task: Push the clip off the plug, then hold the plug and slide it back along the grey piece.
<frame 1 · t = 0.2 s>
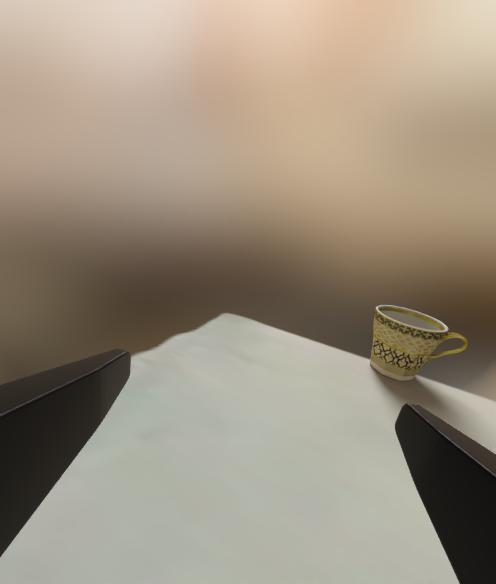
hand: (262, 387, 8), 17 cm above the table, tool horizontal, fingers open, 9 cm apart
ceramic cup: (399, 373, 41), on the table
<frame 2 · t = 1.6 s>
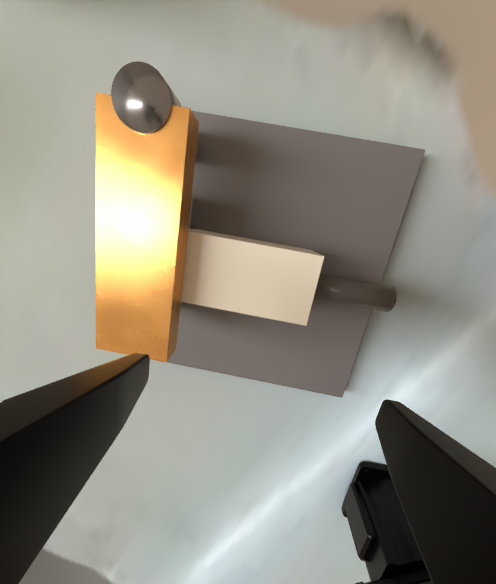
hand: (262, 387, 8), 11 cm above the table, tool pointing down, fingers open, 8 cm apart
clip: (143, 232, 12), point 6 cm above the table, hinge at 0.0°
grey piece: (266, 268, 18), on the table
plug: (285, 279, 15), point 3 cm above the table, slide at 0.0 cm
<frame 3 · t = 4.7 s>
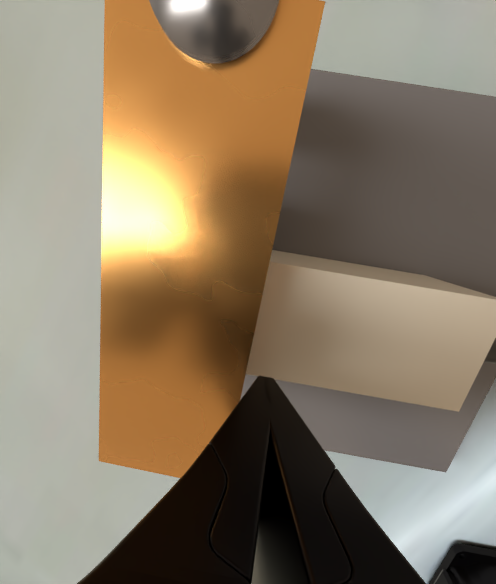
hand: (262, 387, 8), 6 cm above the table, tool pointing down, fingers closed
clip: (190, 268, 6), point 6 cm above the table, hinge at 1.6°, touching gripper
grey piece: (345, 299, 12), on the table
plug: (402, 327, 10), point 3 cm above the table, slide at 0.0 cm
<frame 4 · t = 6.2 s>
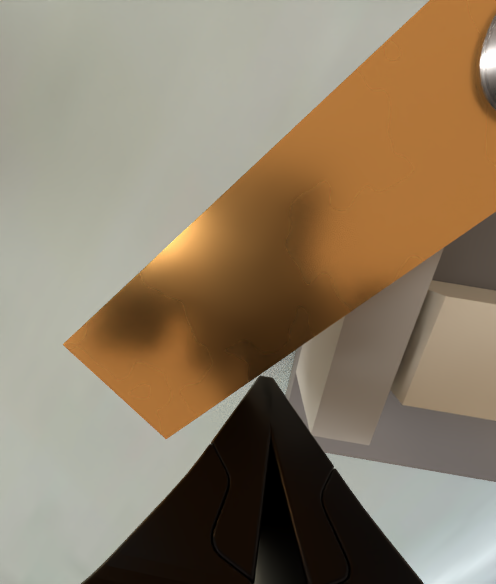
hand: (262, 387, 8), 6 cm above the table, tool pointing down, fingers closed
clip: (301, 241, 6), point 6 cm above the table, hinge at 41.1°, touching gripper
grey piece: (458, 321, 13), on the table
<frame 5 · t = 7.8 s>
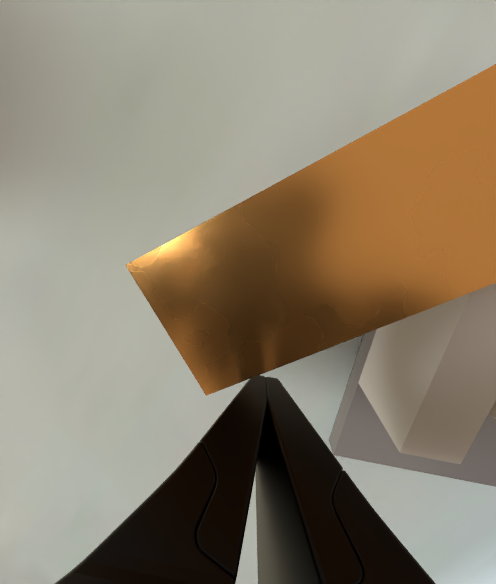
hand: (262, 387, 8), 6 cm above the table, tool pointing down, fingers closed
clip: (415, 214, 6), point 6 cm above the table, hinge at 54.0°, touching gripper
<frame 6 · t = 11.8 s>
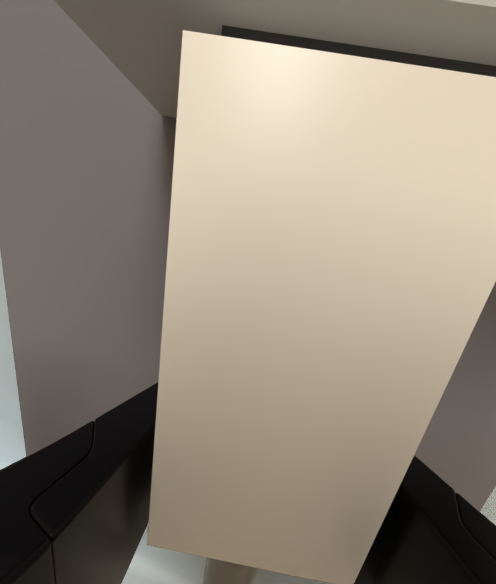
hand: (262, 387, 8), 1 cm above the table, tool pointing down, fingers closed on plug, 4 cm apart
grey piece: (270, 328, 9), on the table
plug: (263, 421, 6), point 3 cm above the table, slide at 0.0 cm, touching gripper
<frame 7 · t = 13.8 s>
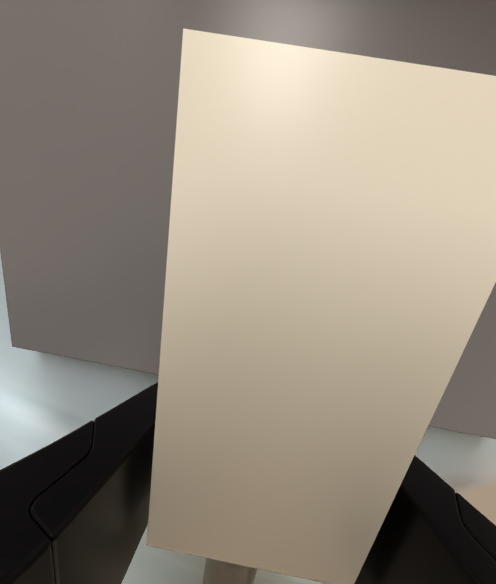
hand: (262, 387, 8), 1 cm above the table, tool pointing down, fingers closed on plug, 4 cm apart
grey piece: (308, 146, 7), on the table
plug: (263, 421, 6), point 3 cm above the table, slide at 5.9 cm, touching gripper
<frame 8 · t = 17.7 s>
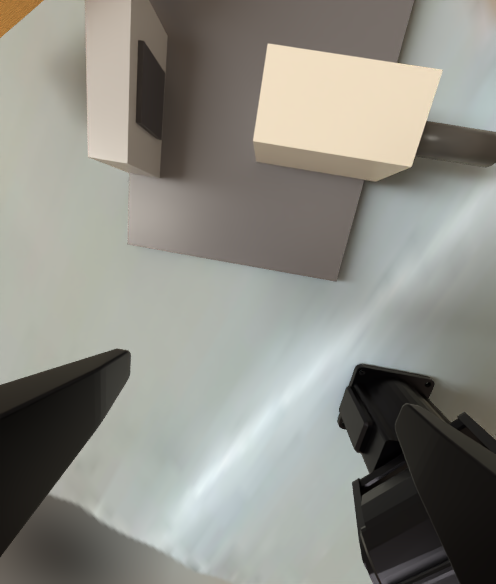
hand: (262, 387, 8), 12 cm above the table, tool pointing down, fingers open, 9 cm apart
grey piece: (251, 132, 16), on the table
plug: (375, 131, 13), point 3 cm above the table, slide at 6.0 cm
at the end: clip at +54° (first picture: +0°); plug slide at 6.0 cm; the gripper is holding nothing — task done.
